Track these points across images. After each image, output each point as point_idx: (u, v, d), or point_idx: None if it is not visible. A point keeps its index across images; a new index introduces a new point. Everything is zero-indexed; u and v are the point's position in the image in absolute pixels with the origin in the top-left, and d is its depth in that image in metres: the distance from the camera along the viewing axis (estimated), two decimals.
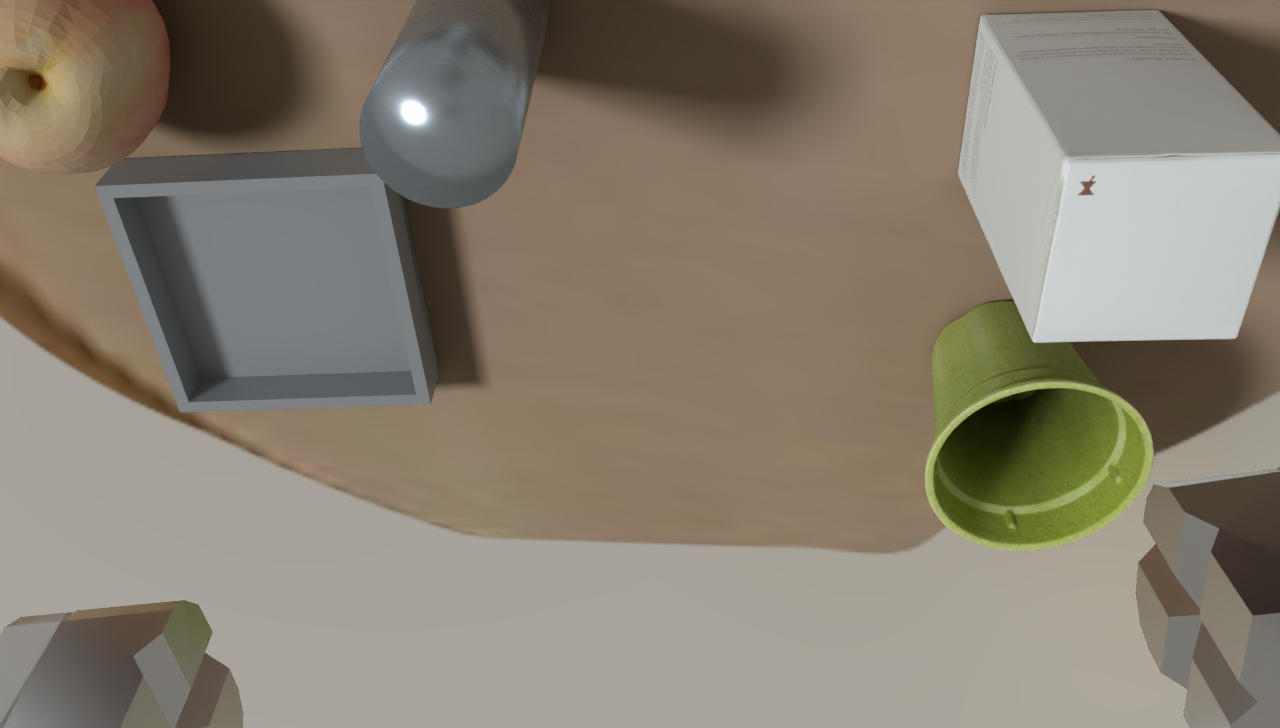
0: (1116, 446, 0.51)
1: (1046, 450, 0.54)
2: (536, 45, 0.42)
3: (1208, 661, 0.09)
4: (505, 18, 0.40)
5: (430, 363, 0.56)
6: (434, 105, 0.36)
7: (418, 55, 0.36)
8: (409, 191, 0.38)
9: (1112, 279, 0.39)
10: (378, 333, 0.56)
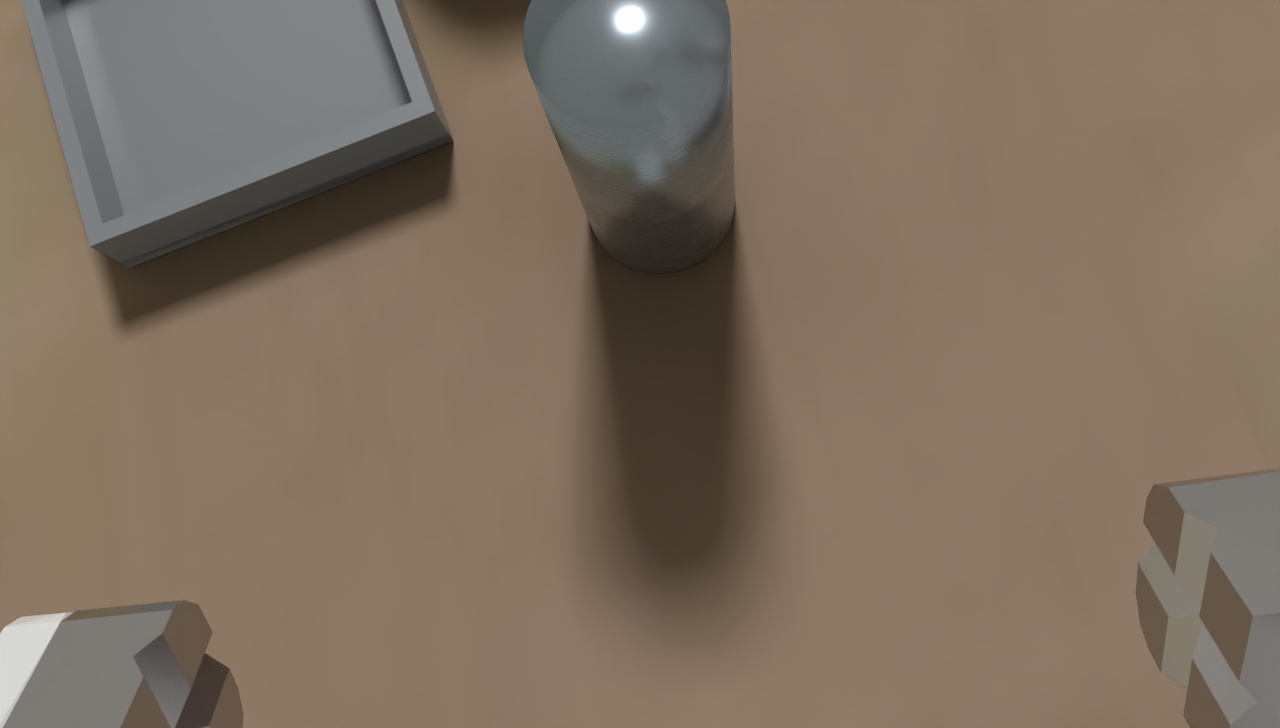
0: None
1: None
2: (686, 214, 0.34)
3: (1208, 661, 0.09)
4: (726, 152, 0.33)
5: (149, 243, 0.40)
6: (670, 16, 0.28)
7: None
8: (537, 14, 0.28)
9: None
10: (179, 173, 0.41)
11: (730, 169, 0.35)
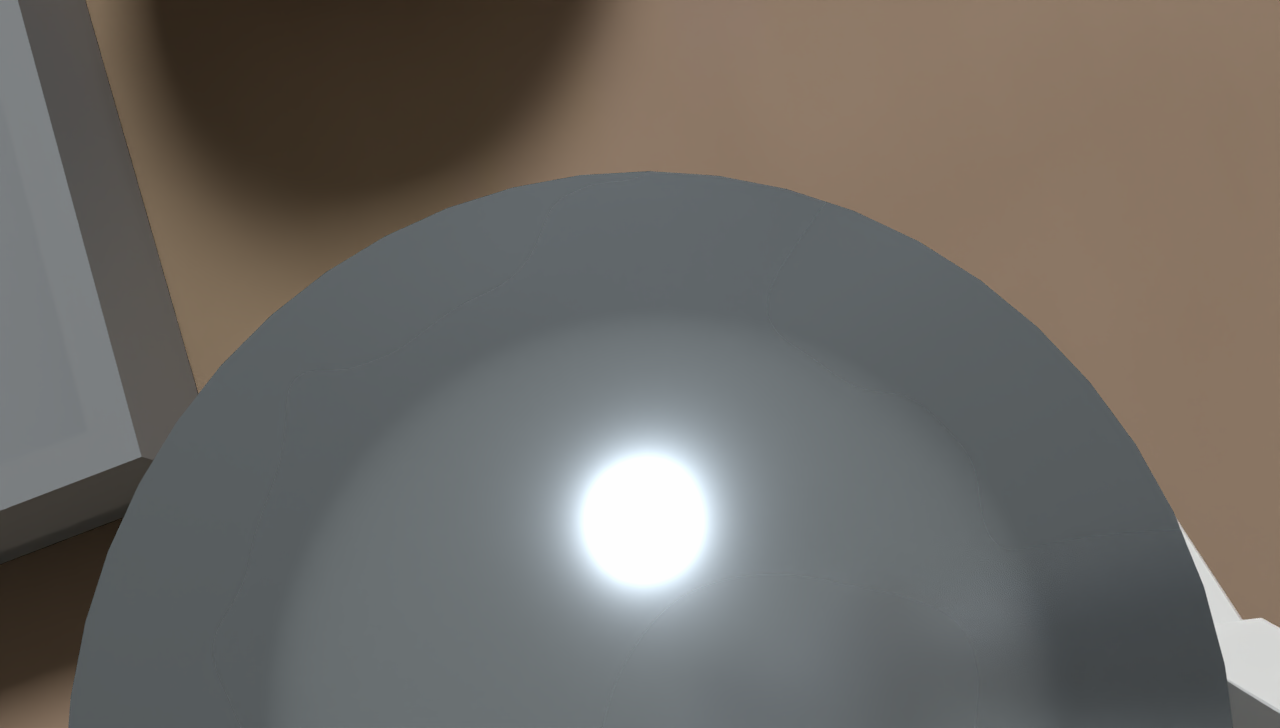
0: None
1: None
2: None
3: None
4: None
5: None
6: (876, 640, 0.05)
7: None
8: (157, 589, 0.05)
9: None
10: None
11: None
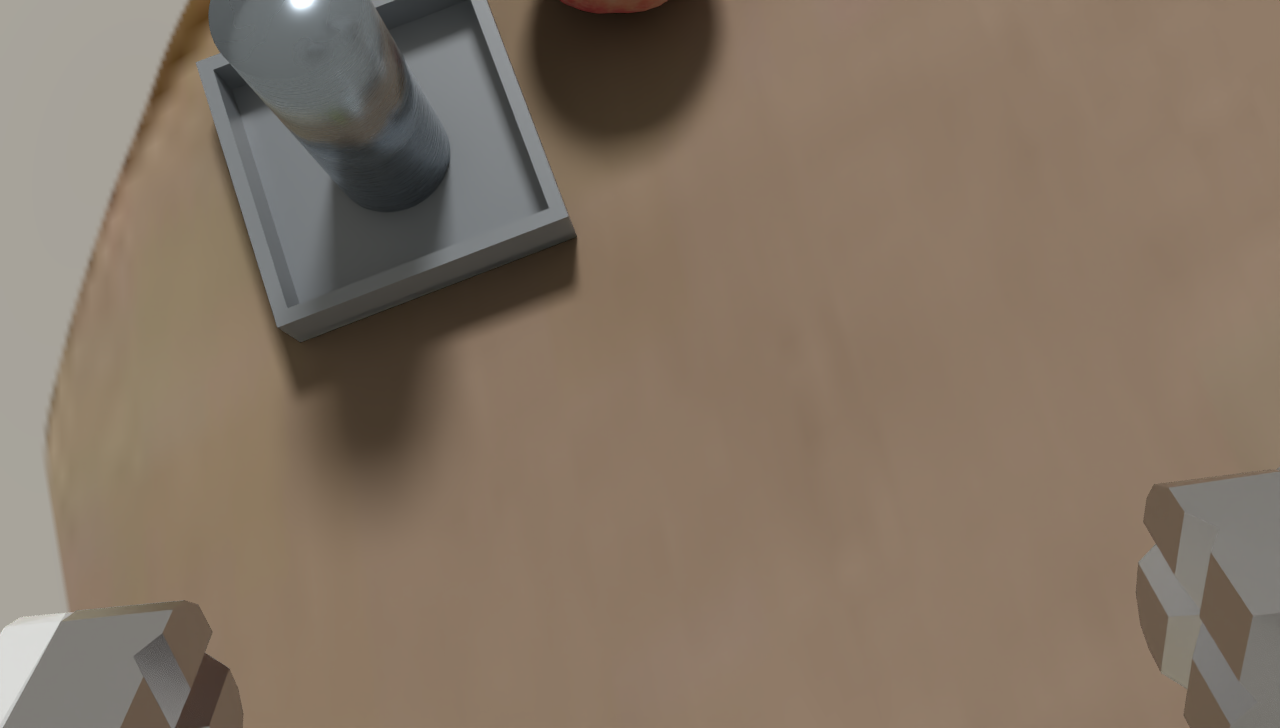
0: None
1: None
2: (377, 156, 0.43)
3: (1208, 661, 0.09)
4: (400, 107, 0.42)
5: (322, 323, 0.47)
6: None
7: None
8: None
9: None
10: (344, 262, 0.48)
11: (417, 123, 0.44)
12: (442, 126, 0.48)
